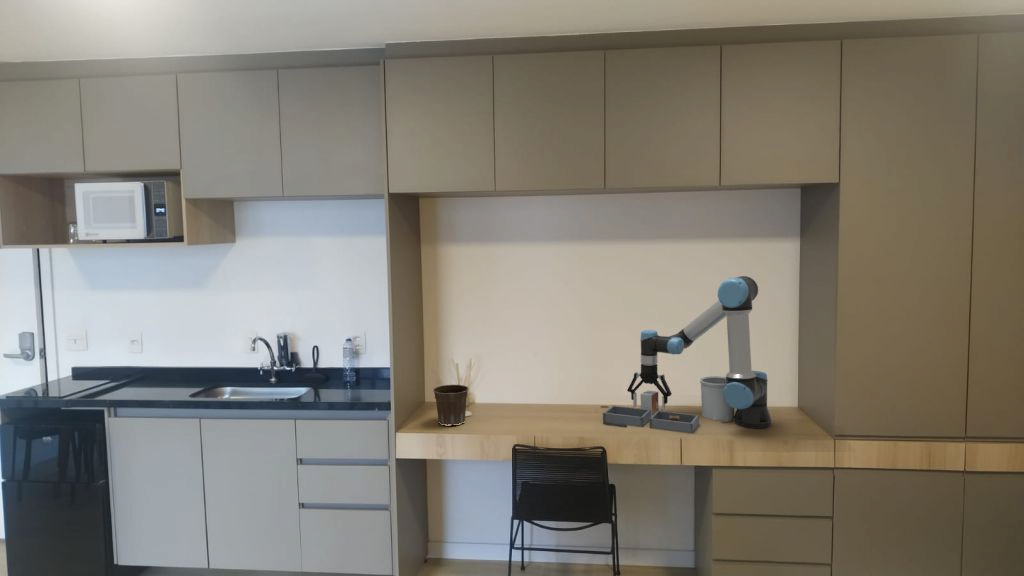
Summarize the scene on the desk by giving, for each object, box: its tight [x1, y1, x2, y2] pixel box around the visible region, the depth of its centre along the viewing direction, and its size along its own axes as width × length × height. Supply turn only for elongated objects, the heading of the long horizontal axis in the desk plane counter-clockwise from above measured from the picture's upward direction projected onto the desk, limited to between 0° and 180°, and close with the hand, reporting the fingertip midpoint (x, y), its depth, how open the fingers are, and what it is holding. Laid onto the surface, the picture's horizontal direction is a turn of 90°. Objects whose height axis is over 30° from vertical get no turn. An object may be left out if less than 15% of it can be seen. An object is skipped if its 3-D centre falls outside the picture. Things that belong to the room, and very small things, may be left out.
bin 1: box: [602, 405, 652, 428], centre depth 262 cm, size 18×13×5 cm
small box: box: [640, 390, 660, 417], centre depth 271 cm, size 8×6×10 cm
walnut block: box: [669, 415, 679, 421], centre depth 251 cm, size 4×4×4 cm
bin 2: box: [648, 410, 700, 434], centre depth 251 cm, size 18×13×5 cm
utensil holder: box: [699, 375, 735, 423], centre depth 263 cm, size 15×15×18 cm
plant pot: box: [432, 384, 469, 425], centre depth 269 cm, size 16×16×16 cm
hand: (649, 408), depth 272 cm, fingers open, 13 cm apart
